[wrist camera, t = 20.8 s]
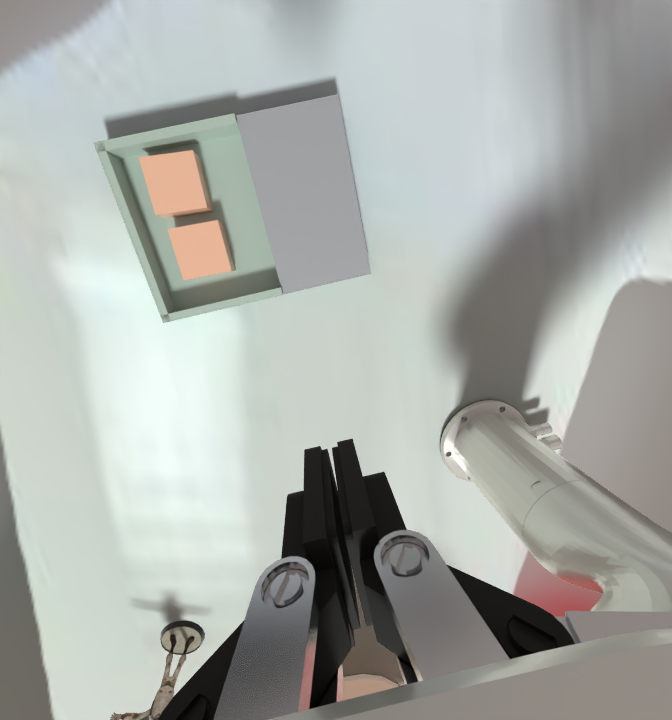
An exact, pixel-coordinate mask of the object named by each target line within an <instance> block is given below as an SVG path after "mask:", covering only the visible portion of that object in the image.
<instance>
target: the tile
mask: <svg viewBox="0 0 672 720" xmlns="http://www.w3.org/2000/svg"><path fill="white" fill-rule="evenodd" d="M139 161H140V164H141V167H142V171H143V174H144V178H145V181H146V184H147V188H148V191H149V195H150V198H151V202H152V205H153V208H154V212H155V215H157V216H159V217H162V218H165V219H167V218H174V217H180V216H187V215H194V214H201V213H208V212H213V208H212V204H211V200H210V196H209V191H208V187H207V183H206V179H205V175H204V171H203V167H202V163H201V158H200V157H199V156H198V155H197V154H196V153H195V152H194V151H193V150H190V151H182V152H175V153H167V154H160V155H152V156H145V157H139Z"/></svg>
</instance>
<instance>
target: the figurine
mask: <svg viewBox="0 0 672 720" xmlns="http://www.w3.org/2000/svg"><path fill="white" fill-rule="evenodd" d="M204 637H205V633H204V631H203V629H202V628H201V627H200V626H199V625H197V624H195V623H193V622H188V621H178V622H174V623H171V624H169V625H168V626H166V627H165V628H164V630H163V631H162V632H161V637H160V639H161V644H162V647H163V648H164V649H165V650H166V651H168V652H169V654H168V655H167V658H166V667H165V672H164V676H163V680H162V684H161V687H160V689H159V690H158V692H157V694H156V697H155V699H154V701H153V704H152V706H151V709H149V710H148V711H146V712H143V713H139V714H138V713H125V714H122V715H121V714H116V713H114V715H112V716H113V717H111V718H112V719H110V720H120V719H122V720H140V719H142V718H144V717H146V716H148V715H150V716H151V718H152V720H154V719H156V718H158V717H159V716H160V715H161V713H162V711H163V710H164V709H165V707H166V706H167V705H168V703H169V702H170V701H171V700H172V698H173V694H174V685H175V683H176V680H177V677H178V674H179V672H180V669H181V667H182V665H183V663H184V661H185V660H186V654H189V653H191V652H193V651H195V650H197V649H198V648H199V647H200V645H201V644H202V642H203V640H204ZM173 654H177V655H182V656H181V657H180V660H179V663H178V666H177V668H176V670H175V672H174V674H173V676H172V677H169V672H170V665H171V662H172V658H173Z"/></svg>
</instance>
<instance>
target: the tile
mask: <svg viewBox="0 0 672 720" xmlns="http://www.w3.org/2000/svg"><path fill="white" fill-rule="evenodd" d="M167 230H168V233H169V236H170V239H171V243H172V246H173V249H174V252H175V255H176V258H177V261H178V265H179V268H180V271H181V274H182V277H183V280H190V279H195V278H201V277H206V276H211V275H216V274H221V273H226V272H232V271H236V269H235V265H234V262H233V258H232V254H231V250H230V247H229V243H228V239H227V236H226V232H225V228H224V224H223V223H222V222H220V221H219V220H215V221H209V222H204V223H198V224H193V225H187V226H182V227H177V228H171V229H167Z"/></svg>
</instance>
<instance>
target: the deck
mask: <svg viewBox="0 0 672 720" xmlns="http://www.w3.org/2000/svg"><path fill="white" fill-rule="evenodd" d="M235 117H236V120H237V124H238V128H239V132H240V135H241V139H242V143H243V147H244V150H245V154H246V158H247V162H248V165H249V169H250V173H251V177H252V180H253V184H254V188H255V192H256V195H257V199H258V203H259V207H260V210H261V214H262V218H263V221H264V225H265V229H266V233H267V236H268V240H269V244H270V248H271V251H272V255H273V259H274V263H275V266H276V270H277V274H278V278H279V281H280V285H281V289H282V293H283V294H287V293H291V292H295V291H299V290H304V289H308V288H312V287H316V286H321V285H325V284H329V283H333V282H338V281H342V280H346V279H350V278H355V277H359V276H363V275H367V274H371V271H370V265H369V260H368V255H367V249H366V244H365V238H364V233H363V227H362V222H361V216H360V211H359V205H358V200H357V194H356V189H355V183H354V178H353V172H352V167H351V162H350V156H349V151H348V145H347V140H346V134H345V129H344V123H343V118H342V112H341V107H340V101H339V96H338V94H336V95H331V96H326V97H322V98H317V99H312V100H307V101H302V102H298V103H293V104H288V105H283V106H279V107H274V108H269V109H264V110H259V111H255V112H250V113H245V114H240V115H236V116H235Z"/></svg>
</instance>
